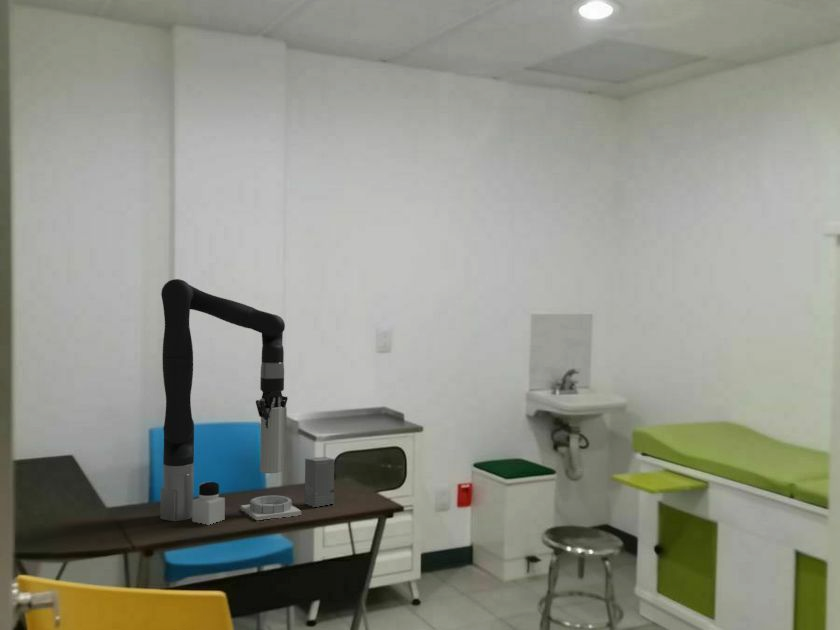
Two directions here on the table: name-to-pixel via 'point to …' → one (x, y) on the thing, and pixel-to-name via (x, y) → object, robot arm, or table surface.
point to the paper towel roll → (273, 442)
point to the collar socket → (270, 507)
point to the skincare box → (319, 481)
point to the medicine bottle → (208, 504)
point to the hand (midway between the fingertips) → (271, 428)
